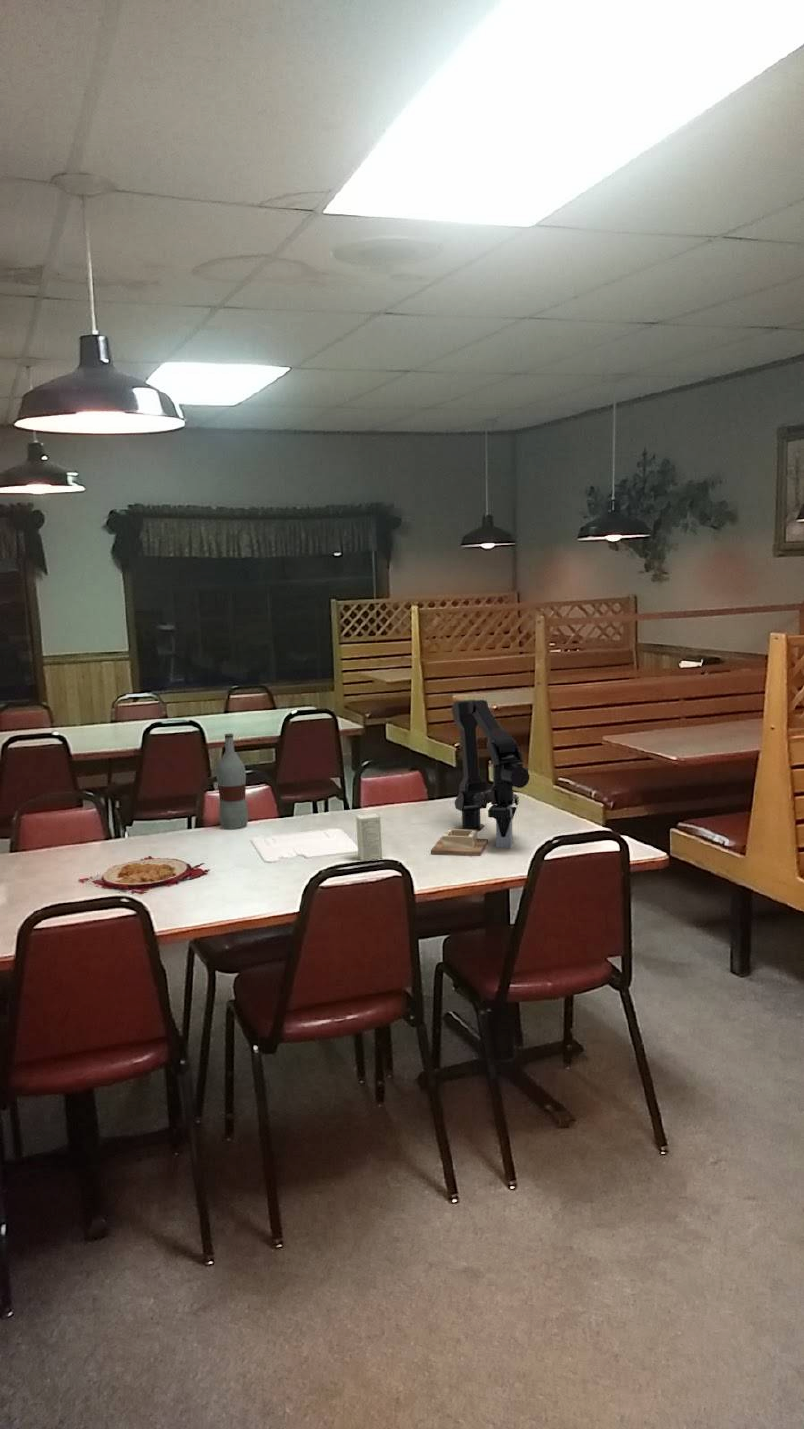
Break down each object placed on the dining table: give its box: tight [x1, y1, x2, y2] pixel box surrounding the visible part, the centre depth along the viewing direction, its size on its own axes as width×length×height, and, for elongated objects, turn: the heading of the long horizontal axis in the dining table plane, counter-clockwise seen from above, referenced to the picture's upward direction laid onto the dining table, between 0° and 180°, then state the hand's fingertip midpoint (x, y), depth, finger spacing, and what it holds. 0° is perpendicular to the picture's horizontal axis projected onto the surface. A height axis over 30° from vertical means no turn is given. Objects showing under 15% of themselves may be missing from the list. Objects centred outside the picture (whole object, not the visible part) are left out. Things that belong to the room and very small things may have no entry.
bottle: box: [216, 733, 249, 831], centre depth 307 cm, size 9×9×30 cm
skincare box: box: [355, 813, 383, 862], centre depth 267 cm, size 6×4×12 cm
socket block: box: [430, 828, 490, 857], centre depth 274 cm, size 14×14×4 cm
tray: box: [250, 828, 358, 864], centre depth 283 cm, size 28×28×2 cm
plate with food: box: [78, 855, 211, 896], centre depth 257 cm, size 24×26×4 cm
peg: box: [495, 819, 514, 848], centre depth 275 cm, size 4×4×10 cm
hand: (504, 834), depth 275 cm, fingers closed on peg, 4 cm apart
